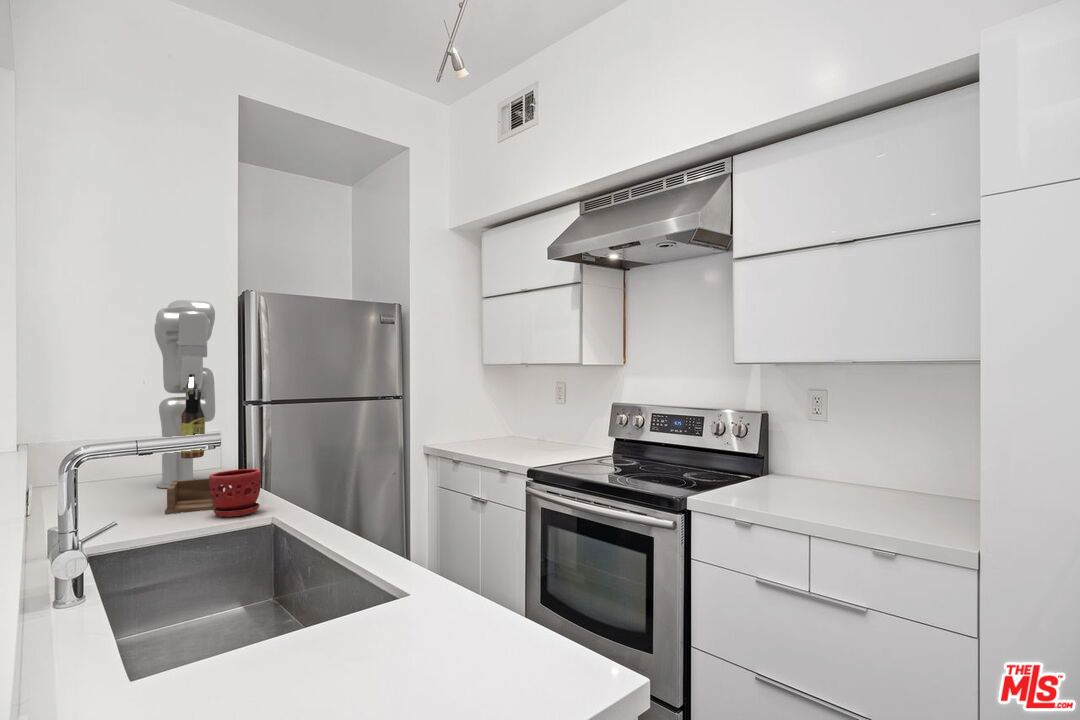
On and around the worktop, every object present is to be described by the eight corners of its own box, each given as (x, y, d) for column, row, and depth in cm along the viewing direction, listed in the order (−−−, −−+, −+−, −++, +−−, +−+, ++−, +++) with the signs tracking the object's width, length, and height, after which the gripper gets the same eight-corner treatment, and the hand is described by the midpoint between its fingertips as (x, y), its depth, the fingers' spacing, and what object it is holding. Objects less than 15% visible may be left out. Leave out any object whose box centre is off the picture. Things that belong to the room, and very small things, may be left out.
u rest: (170, 504, 179) (170, 481, 179) (222, 499, 185) (222, 477, 186) (164, 514, 167) (164, 489, 167) (220, 508, 173) (220, 484, 173)
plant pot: (265, 506, 175) (264, 466, 175) (255, 517, 162) (255, 474, 162) (216, 510, 171) (216, 469, 172) (203, 521, 159) (203, 476, 159)
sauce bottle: (196, 459, 172) (196, 392, 172) (175, 459, 173) (175, 392, 173) (209, 455, 179) (209, 390, 179) (189, 455, 179) (189, 390, 179)
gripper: (181, 353, 182) (181, 411, 182) (175, 351, 167) (175, 414, 167) (209, 353, 186) (209, 410, 185) (205, 351, 170) (205, 413, 170)
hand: (193, 411), depth 176 cm, fingers closed on sauce bottle, 5 cm apart
